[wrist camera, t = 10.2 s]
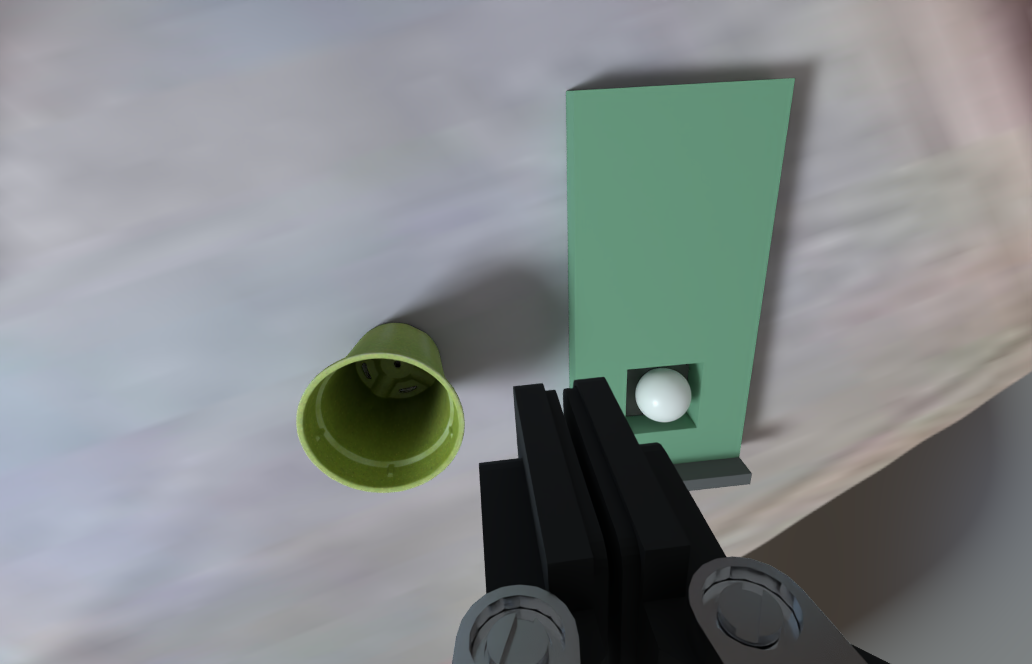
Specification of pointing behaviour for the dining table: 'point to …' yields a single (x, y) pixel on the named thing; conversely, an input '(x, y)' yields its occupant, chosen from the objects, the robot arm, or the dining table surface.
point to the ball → (663, 395)
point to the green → (675, 250)
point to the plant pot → (382, 413)
